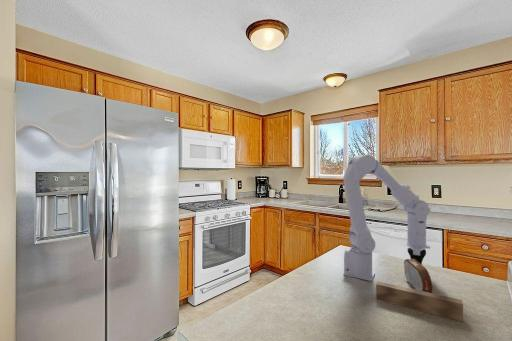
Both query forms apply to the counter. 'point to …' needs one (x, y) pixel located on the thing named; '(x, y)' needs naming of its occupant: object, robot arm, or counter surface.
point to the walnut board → (420, 300)
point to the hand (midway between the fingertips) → (416, 269)
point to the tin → (417, 276)
